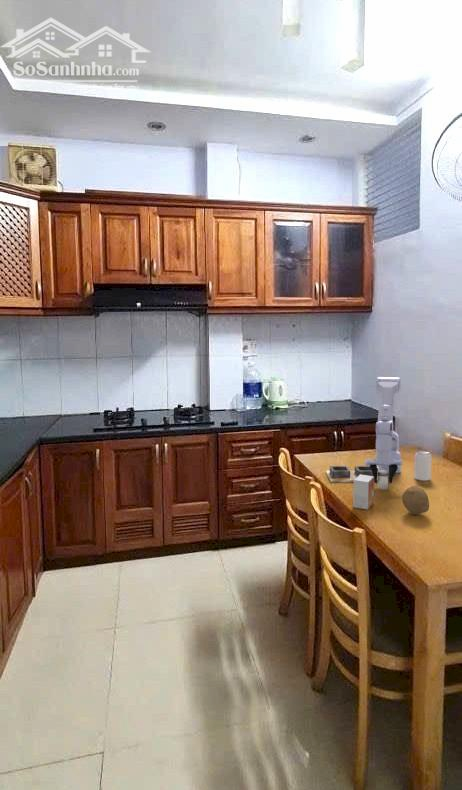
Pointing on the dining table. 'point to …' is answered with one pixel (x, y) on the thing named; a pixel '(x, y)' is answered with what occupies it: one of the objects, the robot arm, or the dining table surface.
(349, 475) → the socket panel
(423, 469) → the can
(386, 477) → the small lidded jar
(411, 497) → the natural sponge
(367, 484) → the small box
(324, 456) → the dining table surface
